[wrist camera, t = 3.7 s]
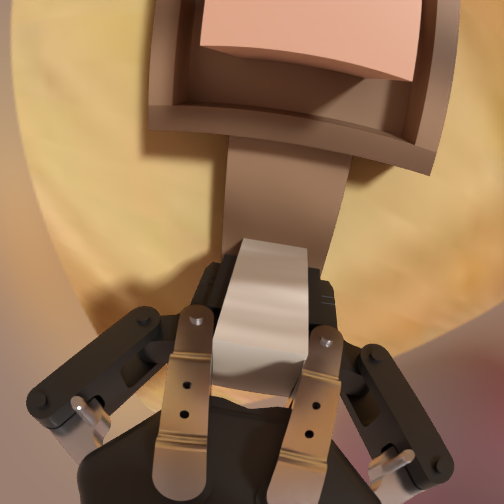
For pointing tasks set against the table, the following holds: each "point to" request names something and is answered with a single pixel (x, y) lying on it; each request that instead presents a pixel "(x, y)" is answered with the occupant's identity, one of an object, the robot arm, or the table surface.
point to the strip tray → (289, 167)
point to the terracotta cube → (319, 33)
